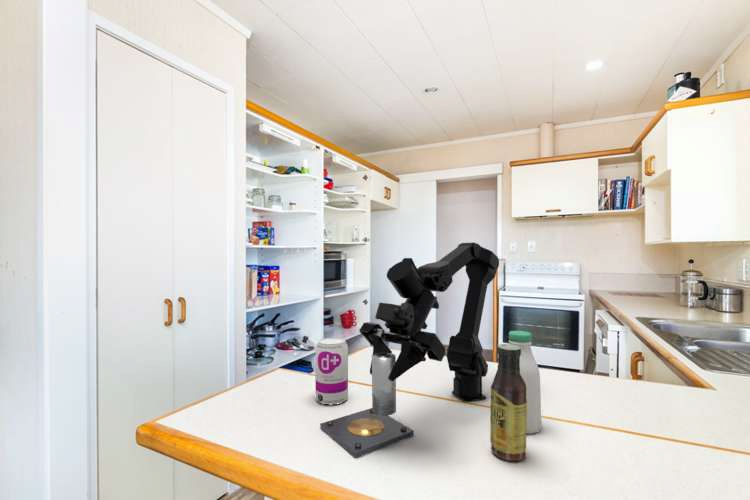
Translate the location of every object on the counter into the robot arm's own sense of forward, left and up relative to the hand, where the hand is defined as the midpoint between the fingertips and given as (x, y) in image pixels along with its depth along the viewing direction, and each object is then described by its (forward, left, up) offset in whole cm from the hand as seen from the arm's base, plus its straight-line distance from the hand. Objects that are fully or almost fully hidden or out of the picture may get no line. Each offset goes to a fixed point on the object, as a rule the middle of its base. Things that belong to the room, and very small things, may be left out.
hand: (380, 377), depth 68 cm
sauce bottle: (-21, +10, -13) cm, 27 cm away
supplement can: (+4, -26, -13) cm, 29 cm away
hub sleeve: (-1, 0, -7) cm, 7 cm away
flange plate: (+1, -7, -13) cm, 15 cm away
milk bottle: (-31, +2, -13) cm, 34 cm away
